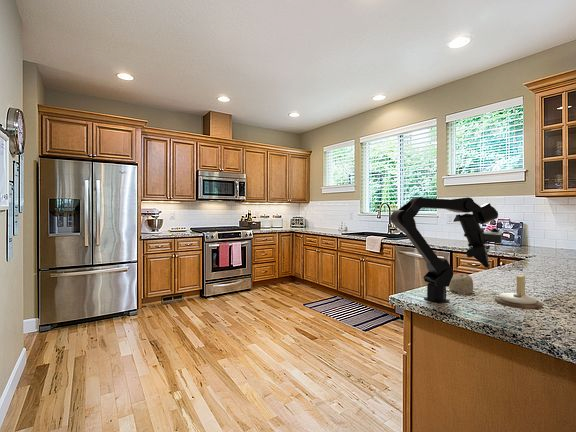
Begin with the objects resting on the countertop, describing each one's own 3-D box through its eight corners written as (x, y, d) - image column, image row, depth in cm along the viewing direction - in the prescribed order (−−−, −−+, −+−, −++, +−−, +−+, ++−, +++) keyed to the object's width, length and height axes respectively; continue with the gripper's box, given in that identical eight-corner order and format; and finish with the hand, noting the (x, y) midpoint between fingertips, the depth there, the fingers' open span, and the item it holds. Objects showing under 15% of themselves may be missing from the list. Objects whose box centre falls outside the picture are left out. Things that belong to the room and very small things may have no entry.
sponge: (470, 303, 126) (484, 283, 126) (451, 290, 126) (465, 270, 126) (458, 297, 135) (471, 278, 135) (440, 284, 135) (453, 266, 135)
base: (532, 311, 103) (532, 307, 103) (487, 301, 115) (487, 298, 115) (549, 304, 110) (549, 301, 110) (505, 295, 122) (505, 293, 122)
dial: (494, 299, 113) (494, 276, 113) (505, 294, 120) (505, 272, 120) (531, 306, 105) (531, 281, 105) (541, 300, 112) (541, 277, 112)
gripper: (493, 228, 105) (510, 271, 104) (497, 217, 119) (513, 255, 118) (458, 236, 112) (475, 276, 111) (467, 225, 126) (481, 261, 125)
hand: (487, 266), depth 116 cm, fingers closed
